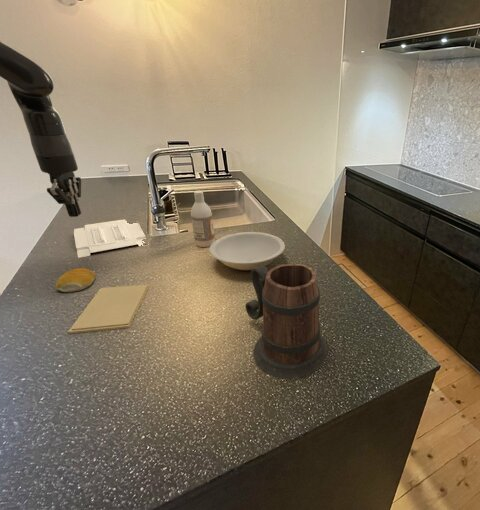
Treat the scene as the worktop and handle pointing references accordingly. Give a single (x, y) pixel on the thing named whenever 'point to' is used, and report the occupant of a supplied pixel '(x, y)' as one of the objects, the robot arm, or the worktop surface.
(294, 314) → the tankard
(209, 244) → the bath foam
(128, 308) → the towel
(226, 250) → the soup bowl
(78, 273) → the bread roll
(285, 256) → the worktop surface
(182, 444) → the worktop surface
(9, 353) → the worktop surface
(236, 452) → the worktop surface
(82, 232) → the tray
